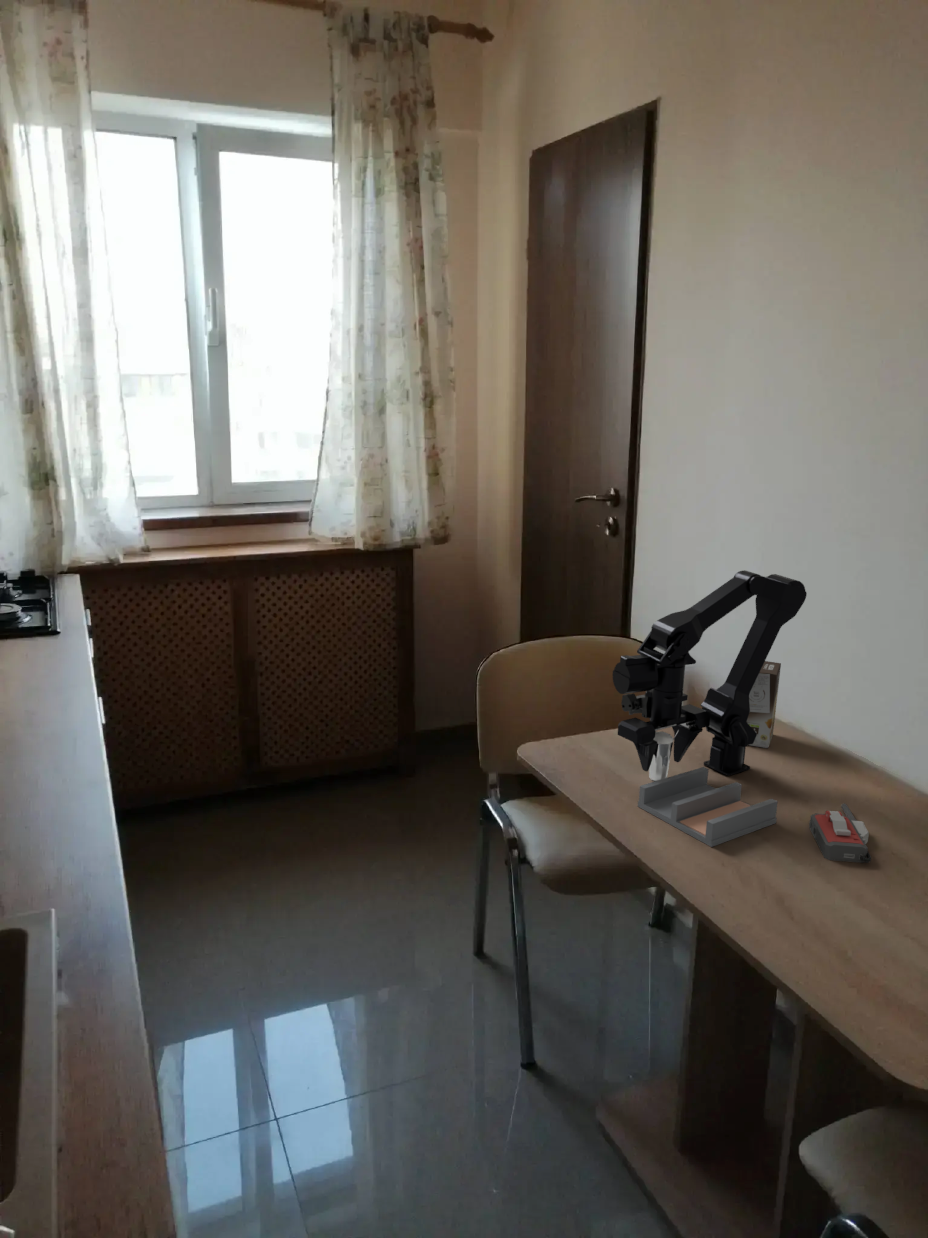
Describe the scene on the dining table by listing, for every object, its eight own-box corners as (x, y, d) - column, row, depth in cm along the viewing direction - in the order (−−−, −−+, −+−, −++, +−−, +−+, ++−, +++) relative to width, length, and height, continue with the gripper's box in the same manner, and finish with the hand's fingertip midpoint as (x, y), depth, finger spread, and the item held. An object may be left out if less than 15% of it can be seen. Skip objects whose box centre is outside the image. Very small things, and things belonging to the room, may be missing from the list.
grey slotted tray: (700, 786, 171) (702, 766, 170) (776, 823, 158) (778, 801, 156) (637, 806, 163) (639, 785, 162) (711, 847, 149) (713, 824, 148)
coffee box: (769, 749, 189) (777, 674, 185) (737, 744, 192) (744, 670, 188) (773, 734, 198) (781, 662, 193) (742, 729, 200) (750, 658, 196)
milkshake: (674, 785, 172) (679, 734, 169) (645, 782, 173) (649, 732, 170) (674, 775, 176) (678, 725, 173) (645, 772, 177) (649, 723, 174)
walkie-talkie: (883, 870, 144) (848, 812, 163) (887, 844, 143) (852, 789, 162) (825, 865, 145) (797, 808, 164) (828, 840, 144) (800, 785, 163)
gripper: (671, 668, 181) (665, 742, 185) (599, 683, 171) (595, 761, 175) (715, 684, 172) (707, 761, 176) (642, 701, 162) (636, 783, 166)
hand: (661, 766), depth 174 cm, fingers open, 8 cm apart
